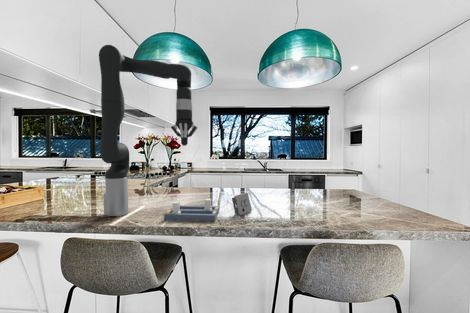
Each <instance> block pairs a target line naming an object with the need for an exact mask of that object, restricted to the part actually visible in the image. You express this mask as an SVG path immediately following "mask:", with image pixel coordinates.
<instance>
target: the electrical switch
mask: <svg viewBox="0 0 470 313" xmlns="http://www.w3.org/2000/svg"><path fill="white" fill-rule="evenodd" d="M250 201H251V200H250V197H249V192H243V193H239V194H236V195H235V196H234V197H232V198H231V202H232V205H233V210H234V214H235V215H239V216H243V215H246V214H248V213H250V212H252V211H253V210H252V209H253V208H252V206H251V202H250Z"/></svg>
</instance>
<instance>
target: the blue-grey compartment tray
mask: <svg viewBox="0 0 470 313" xmlns="http://www.w3.org/2000/svg"><path fill="white" fill-rule="evenodd" d="M211 208H212V210H205V205H180V211H181V213H172V212H173V206H172V207H171V208H169V209H168V210H167V211H166V212H165V213H164V214H163V220H164V221H177V220H192V221H191V222H216V219H217V217H218V215H219V212H220V206H218V205H217V206H216V205H211Z"/></svg>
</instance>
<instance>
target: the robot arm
mask: <svg viewBox="0 0 470 313" xmlns="http://www.w3.org/2000/svg"><path fill="white" fill-rule="evenodd" d="M98 60H99V67H100V68H99V69H100V76H101V81H100V82H101V83H100V85H101V86H100V88H101V89H100V92H101V94H100V96H101V97H100V99H101V100H100V101H101V102H100V104H101V105H100V106H101V107H100V108H101V109H100V110H101V135H100V136H101V137H100V145H99V148H100V150H99V153H100V158H101V160H102V162H104V163H106V164H110V166H109V169H107V170H106V171H105V172H104V186H105V193H104V194H103V215H104V216H106V215H107V217H110V216H116V217H120V216H121V217H122V216H124V215H125V216H126V215H127V214H128V213H129V191H128V190H129V189H128V188H129V186H128V185H129V184H128V173H129V170H130V150H129V147H128V146H127V145H126V143H123V142H118V133H119V128H120V126H121V125H122V122H123V120H124V118H125V95H124V93H123V89H122V84H121V78H120V74H121V73H122V72H123V73H133V74H134V73H135V74H139V75H141V74H142V75H147V76H151V77H155V78H159V79H165V80H169V79H175V80H176V101H175V104H176V105H175V107H176V108H175V113H176V114H175V116H176V121H175V124H174V125H172V126H171V127H170V128H171V130H172V131H173V132H174V134H176V136H177V137H179V138H180V143H181V145H182V147H183V146H185V147H186V146H188V144H189V142H188V140H189V139H188V138H191V137H192V136H193V135H194V134H195V133H196V131H197V130H198V126H197V125H195V124H194V121H193V102H192V89H191V88H192V71H191V69H190V67H189V66H187V65H185V64H180V63H179V64H178V63H167V62H163V61H159V60H153V59H136V58H131V57H129V56H126V55H124V54H123V53H122V52H121V51H120V50H119V48H117V47H116V46H114V45H111V44H105V45H103V46H102V47H101V48H100V49H99V52H98Z"/></svg>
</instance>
